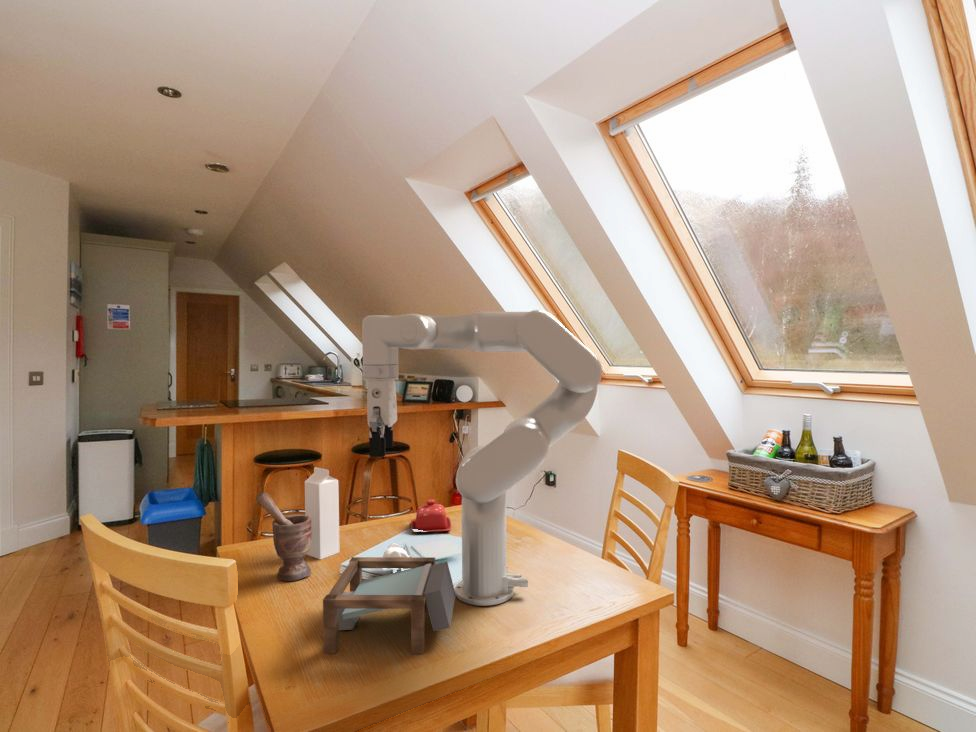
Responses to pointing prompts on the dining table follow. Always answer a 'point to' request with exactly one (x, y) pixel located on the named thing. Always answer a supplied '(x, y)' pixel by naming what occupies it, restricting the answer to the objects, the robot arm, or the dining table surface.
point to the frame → (373, 599)
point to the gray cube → (346, 623)
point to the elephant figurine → (395, 551)
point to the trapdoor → (414, 591)
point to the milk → (322, 513)
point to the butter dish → (431, 518)
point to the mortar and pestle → (289, 539)
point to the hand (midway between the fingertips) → (381, 452)
